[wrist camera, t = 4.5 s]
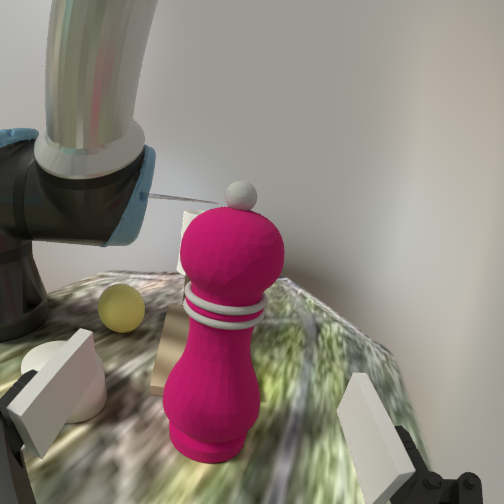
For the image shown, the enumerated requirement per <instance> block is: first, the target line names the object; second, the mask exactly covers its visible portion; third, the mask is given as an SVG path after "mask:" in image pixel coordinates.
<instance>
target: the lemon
mask: <svg viewBox="0 0 504 504" xmlns="http://www.w3.org/2000/svg"><path fill="white" fill-rule="evenodd" d="M98 313H99V316H100V319H101V321H102V322H103V323H104V325H105V326H106V327H108V328H109V329H110V330H112V331H115V332H119V333H126V332H130V331H132V330H134V329H135V328H137V327H138V326H139V325H140V323H141V322H142V320H143V318H144V314H145V305H144V301H143V298H142V297H141V295H140V293H139V292H138V291H137V290H136V289H134V288H133V287H131V286H129V285H126V284H115V285H112V286H110V287H108V288H107V289H106V290H105V291H104V292H103V293H102V294H101V296H100V298H99V302H98Z"/></svg>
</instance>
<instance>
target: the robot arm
mask: <svg viewBox="0 0 504 504" xmlns="http://www.w3.org/2000/svg"><path fill="white" fill-rule="evenodd" d="M157 2H158V0H52V5H51V13H50V21H49V28H48V38H47V50H46V70H45V106H46V107H45V108H46V127H45V128H44V129H43V130H42V132H41V133H40V134H39V132H38V131H37V130H35V129H30V128H14V129H2V130H0V341H3V340H9V339H13V338H17V337H20V336H23V335H25V334H27V333H29V332H31V331H33V330H34V329H36V328H37V327H38V326H40V325H41V324H42V323H43V322H44V320H45V319H46V317H47V315H48V311H49V308H48V300H47V293H46V291H45V288H44V285H43V283H42V280H41V277H40V275H39V272H38V269H37V267H36V264H35V261H34V258H33V254H32V240H34V241H47V242H58V243H69V244H81V245H93V246H100V247H107V246H126V245H129V244H131V243H132V242H134V241H135V239H136V238H137V237H138V235H139V232H140V229H141V226H142V223H143V219H144V215H145V211H146V207H147V202H148V196H149V191H150V188H151V184H152V179H153V173H154V167H155V157H156V154H155V150H154V149H153V148H151V147H148V146H147V145H144V142H145V137H144V132H143V130H142V128H141V126H140V125H139V124H138V123H137V122H136V121H135V120H134V119H133V112H134V106H135V99H136V93H137V88H138V82H139V77H140V71H141V67H142V62H143V57H144V52H145V48H146V44H147V39H148V35H149V31H150V27H151V24H152V20H153V16H154V12H155V9H156V6H157ZM97 374H98V372H97V364H96V357H95V348H94V338H93V332H92V331H88V330H85V329H82V328H80V329H79V330H78V331H77V332H76V333H75V334H74V335H73V336H72V337H71V338H70V339H69V340H68V341H67V342H66V343H65V344H64V345H63V346H62V347H61V348H60V349H59V351H58V352H57V353H56V354H55V355H54V356H53V357H52V358H51V359H50V360H49V361H48V362H47V363H46V364H45V365H44V366H43V367H42V369H41V370H40V371H39V372H38V371H36V370H34V369H32V370H30V371H28V372H26V373H24V374H23V375H22V376H21V377H20V378H19V379H18V381H16V382H15V383H14V385H13V387H11V388H10V389H9V390H8V391H7V392H6V393H5V394H4V395H3V396H2V398H1V399H0V504H36V501H35V498H34V495H33V491H32V488H31V485H30V481H29V478H28V474H27V470H26V466H25V462H24V457H23V453H22V451H21V447H22V446H23V444H24V445H25V447H26V449H27V450H28V452H30V453H31V454H33V455H35V456H37V457H39V458H41V459H43V457H44V456H45V454H46V453H47V451H48V449H49V448H50V446H51V444H52V443H53V441H54V440H55V438H56V436H57V435H58V433H59V432H60V430H61V428H62V427H63V425H64V424H65V422H66V421H67V419H68V418H69V416H70V415H71V413H72V411H73V410H74V408H75V407H76V405H77V404H78V402H79V401H80V399H81V398H82V396H83V395H84V393H85V392H86V390H87V389H88V387H89V386H90V385H91V383H92V382H93V380H94V379H95V377H96V376H97ZM337 414H338V417H339V420H340V423H341V426H342V429H343V433H344V436H345V439H346V442H347V445H348V448H349V451H350V454H351V458H352V461H353V464H354V467H355V470H356V474H357V477H358V480H359V483H360V487H361V490H362V493H363V497H364V500H365V503H366V504H385V503H386V502H387V501H388V500H389V499H390V502H391V504H483V497H482V485H481V480H480V479H479V477H478V476H477V475H475V474H474V473H471V472H465V473H464V474H462V475H461V476H460V477H459V478H458V479H457V480H452V479H451V480H450V479H446V480H445V479H442V477H441V476H440V475H439V474H436V473H435V472H430V471H428V469H427V467H426V465H425V463H424V461H423V459H422V457H421V455H420V453H419V451H418V449H416V446H415V444H414V442H413V440H412V438H411V436H410V434H409V432H407V431H406V430H405V429H404V428H403V427H402V426H394V425H393V423H392V421H391V419H390V418H389V416H388V414H387V412H386V410H385V408H384V406H383V404H382V402H381V400H380V398H379V396H378V394H377V392H376V390H375V389H374V387H373V385H372V383H371V381H370V379H369V377H368V375H367V373H353V374H352V377H351V379H350V381H349V384H348V386H347V388H346V391H345V393H344V395H343V398H342V400H341V402H340V404H339V406H338V409H337Z"/></svg>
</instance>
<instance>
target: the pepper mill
mask: <svg viewBox="0 0 504 504" xmlns="http://www.w3.org/2000/svg"><path fill="white" fill-rule="evenodd" d="M225 199H226V203H227V205H228V206H229V207H220V208H215V209H210V210H208V211H205V212H203V213H201V214H199V215H198V216H197V217H196V218H194V219H193V220H192V221H191V222H190V224H189V225H188V227H187V228H186V230H185V232H184V235H183V238H182V240H181V247H180V261H181V265H182V268H183V270H184V272H185V273H186V275H187V276H188V277H189V279H190V280H191V281H190V282H189V283H188V284H187V285H186V286H185V290H184V291H185V295H186V297H185V299H184V302H183V307H184V309H185V311H186V313H187V314H188V315H189V332H188V339H187V343H186V346H185V349H184V352H183V354H182V356H181V358H180V359H179V360H178V362H177V363H176V364H175V366H174V367H173V369H172V370H171V372H170V374H169V376H168V378H167V381H166V383H165V386H164V393H163V407H164V411H165V414H166V415H167V417H168V419H169V431H170V439H171V441H172V443H173V445H174V446H175V448H176V449H177V450H178V451H179V452H180V453H182V454H183V455H184V456H186V457H188V458H190V459H192V460H195V461H199V462H203V463H218V462H223V461H226V460H229V459H231V458H233V457H234V456H236V455H237V454H238V453H239V452H240V450H241V449H242V447H243V445H244V442H245V438H246V434H247V431H248V430H249V429H250V428H251V427H252V426H253V424H254V423H255V421H256V419H257V417H258V414H259V408H260V391H259V385H258V381H257V378H256V375H255V372H254V369H253V366H252V361H251V352H250V344H251V337H252V332H253V329H254V326H255V325H257V324H259V323H260V322H261V321H262V320H263V318H264V315H265V311H264V307H265V306H266V304H267V297H266V295H265V293H264V291H265V290H266V289H267V288H269V287H270V286H272V285H273V283H274V282H275V281H276V280H277V279H278V277H279V275H280V273H281V271H282V268H283V263H284V244H283V240H282V237H281V235H280V233H279V231H278V229H277V228H276V227H275V226H274V224H273V223H272V222H270V221H269V220H268V219H267V218H265V217H264V216H262V215H261V214H258V213H256V212H253V211H251V210H250V209H252V208H253V207H254V205H255V204H256V201H257V193H256V190H255V188H254V187H253V185H252V184H250V183H248V182H246V181H237V182H234V183H232V184H231V185H230V186H229V187H228V189H227V191H226V194H225Z"/></svg>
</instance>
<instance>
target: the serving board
mask: <svg viewBox="0 0 504 504" xmlns="http://www.w3.org/2000/svg"><path fill="white" fill-rule="evenodd" d="M188 332H189V315H188V314H187V313H186V311H185V309H184V307H183V305H175V304H169V306H168V310H167V314H166V318H165V322H164V326H163V330H162V334H161V339H160V343H159V347H158V352H157V356H156V361H155V365H154V370H153V375H152V380H151V384H150V390H151V395H159V396H163V393H164V386H165V383H166V381H167V378H168V376H169V374H170V372H171V370H172V369H173V367H174V366H175V364H176V363H177V362H178V360H179V359H180V358H181V356H182V354H183V352H184V349H185V346H186V343H187V339H188Z"/></svg>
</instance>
